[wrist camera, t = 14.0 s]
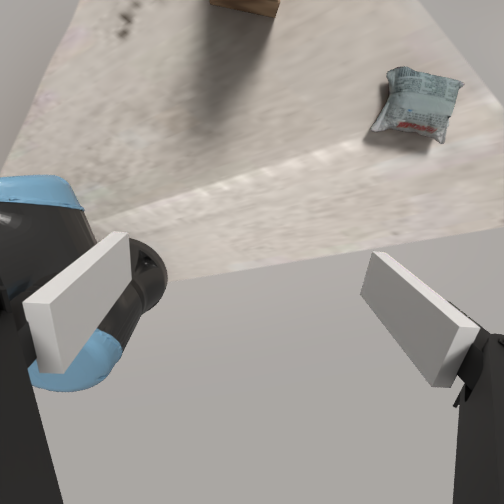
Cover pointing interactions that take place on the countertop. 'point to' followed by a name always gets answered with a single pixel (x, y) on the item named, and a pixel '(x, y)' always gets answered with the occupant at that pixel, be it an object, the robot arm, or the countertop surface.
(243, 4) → the walnut base
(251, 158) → the countertop surface
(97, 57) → the countertop surface
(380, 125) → the packaged food
